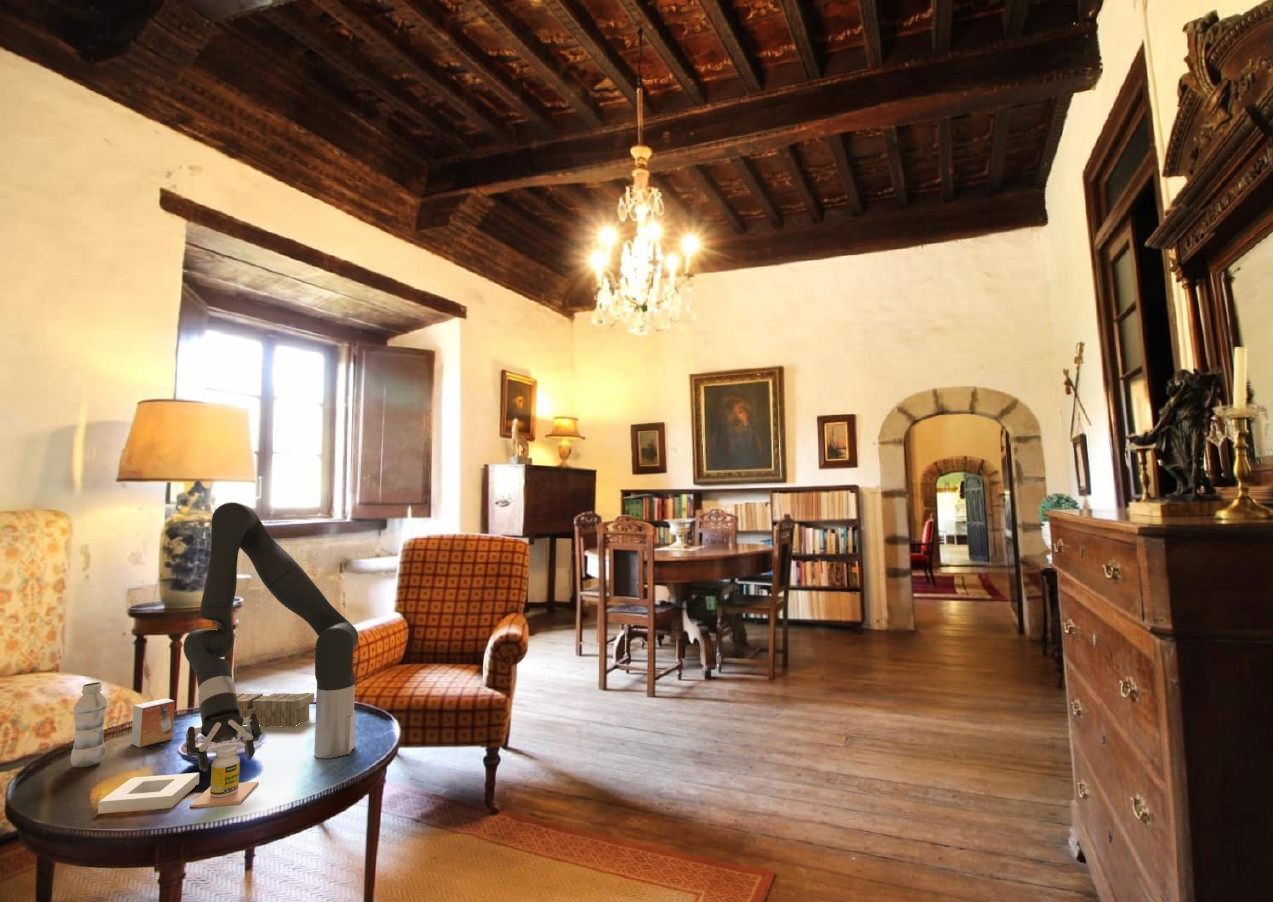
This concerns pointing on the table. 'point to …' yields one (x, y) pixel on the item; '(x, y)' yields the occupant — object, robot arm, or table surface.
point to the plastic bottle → (89, 726)
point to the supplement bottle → (225, 772)
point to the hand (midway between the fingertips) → (228, 763)
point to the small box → (152, 722)
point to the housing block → (149, 793)
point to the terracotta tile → (234, 798)
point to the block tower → (276, 708)
